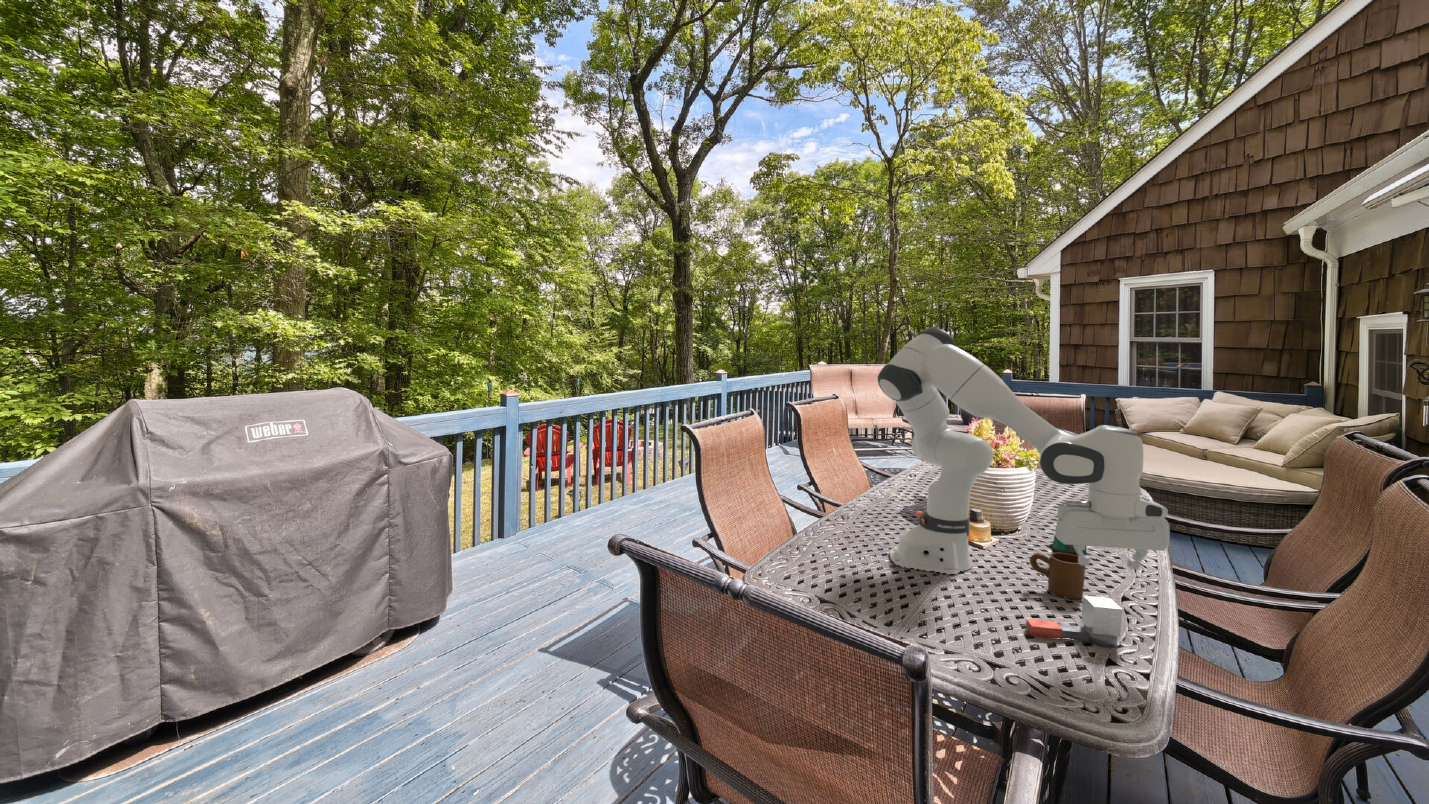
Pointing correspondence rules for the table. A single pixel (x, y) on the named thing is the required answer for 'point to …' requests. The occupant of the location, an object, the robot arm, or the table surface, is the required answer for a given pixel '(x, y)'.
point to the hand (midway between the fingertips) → (1108, 566)
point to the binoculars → (1063, 548)
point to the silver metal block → (1101, 615)
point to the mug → (1062, 574)
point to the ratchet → (1068, 632)
